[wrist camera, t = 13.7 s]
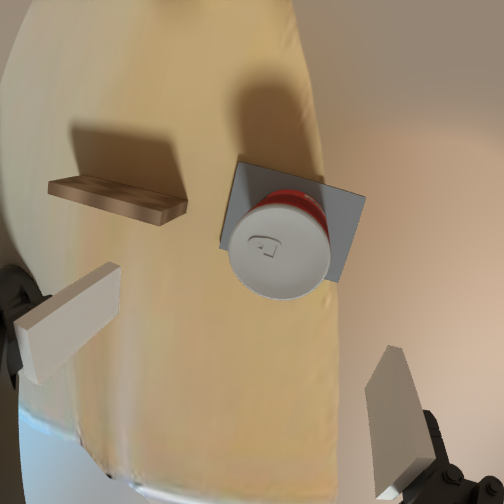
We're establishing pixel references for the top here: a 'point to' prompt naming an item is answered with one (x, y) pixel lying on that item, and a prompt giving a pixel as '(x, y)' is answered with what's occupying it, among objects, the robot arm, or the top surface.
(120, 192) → the walnut screen
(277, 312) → the top surface
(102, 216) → the top surface
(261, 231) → the canned food
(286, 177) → the slate mat
